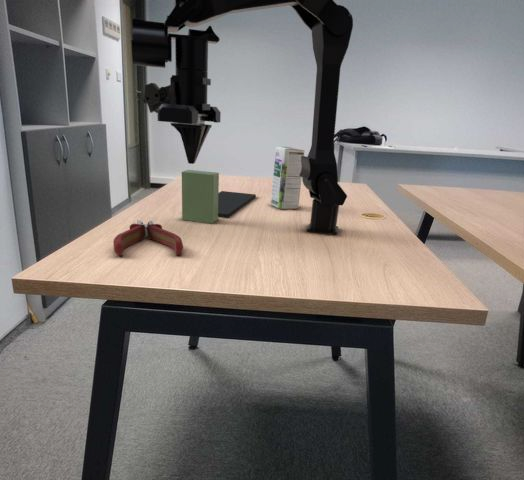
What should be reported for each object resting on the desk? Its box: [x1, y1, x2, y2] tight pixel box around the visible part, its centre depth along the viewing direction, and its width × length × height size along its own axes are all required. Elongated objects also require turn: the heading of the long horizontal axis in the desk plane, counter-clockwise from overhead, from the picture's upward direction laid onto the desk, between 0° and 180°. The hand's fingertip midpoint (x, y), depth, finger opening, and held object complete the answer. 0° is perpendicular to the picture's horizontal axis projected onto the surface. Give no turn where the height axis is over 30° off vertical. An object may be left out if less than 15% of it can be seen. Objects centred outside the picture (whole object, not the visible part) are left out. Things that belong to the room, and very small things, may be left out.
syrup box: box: [270, 146, 305, 210], centre depth 121 cm, size 6×6×14 cm
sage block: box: [181, 169, 220, 224], centre depth 102 cm, size 4×7×10 cm, turn 78°
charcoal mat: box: [218, 190, 257, 219], centre depth 122 cm, size 30×10×1 cm, turn 168°
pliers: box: [112, 219, 184, 257], centre depth 86 cm, size 11×20×3 cm, turn 15°
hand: (191, 163), depth 92 cm, fingers closed
